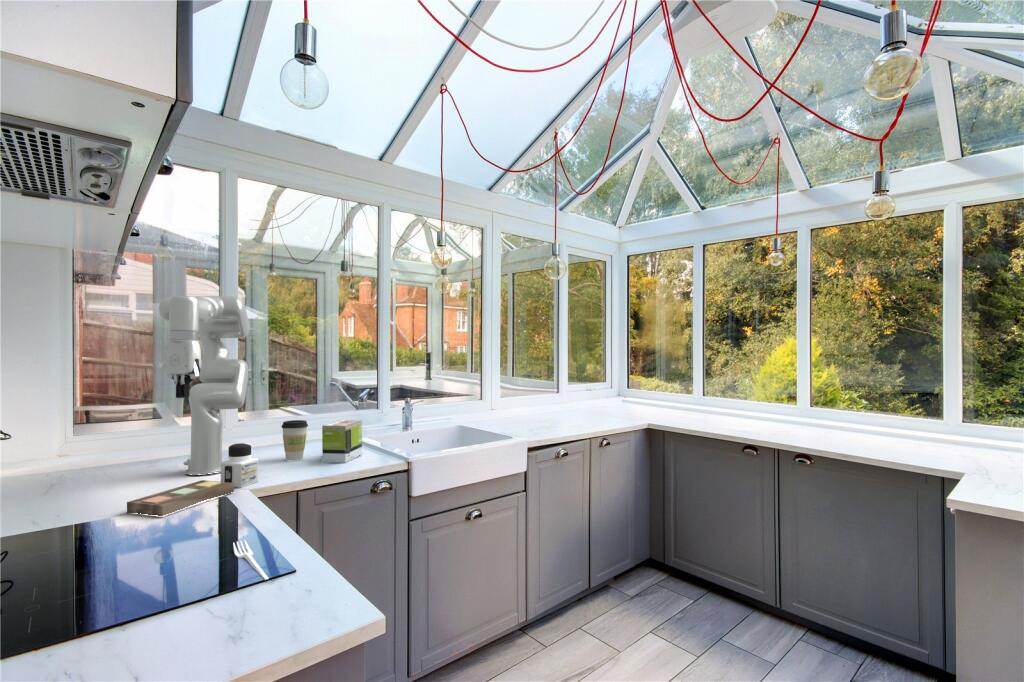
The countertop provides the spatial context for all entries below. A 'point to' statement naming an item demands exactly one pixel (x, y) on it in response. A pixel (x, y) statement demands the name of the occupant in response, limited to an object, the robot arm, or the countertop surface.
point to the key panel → (179, 499)
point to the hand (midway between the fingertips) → (182, 397)
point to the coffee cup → (294, 438)
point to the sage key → (184, 491)
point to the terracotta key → (157, 499)
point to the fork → (248, 557)
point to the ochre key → (207, 484)
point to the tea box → (341, 441)
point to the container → (240, 466)
